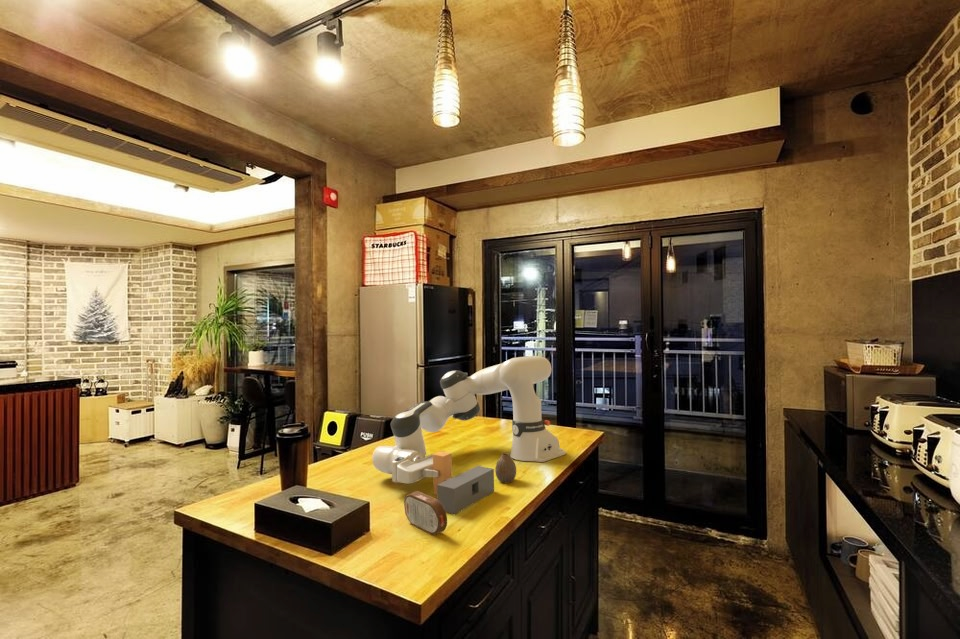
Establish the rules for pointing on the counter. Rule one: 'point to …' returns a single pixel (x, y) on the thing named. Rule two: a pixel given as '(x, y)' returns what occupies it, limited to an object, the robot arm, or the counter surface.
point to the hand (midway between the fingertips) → (444, 471)
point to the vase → (505, 469)
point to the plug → (442, 468)
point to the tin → (425, 512)
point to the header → (465, 489)
